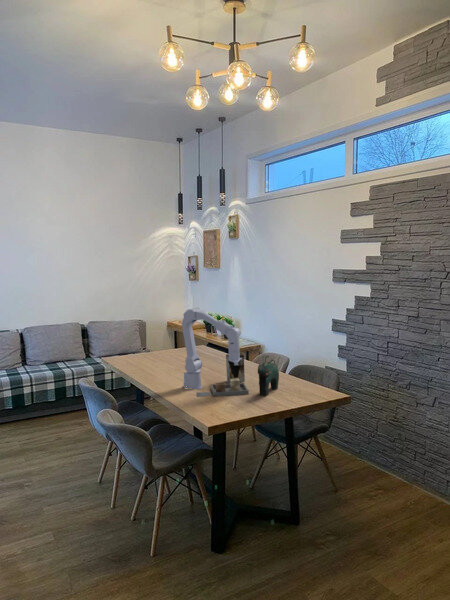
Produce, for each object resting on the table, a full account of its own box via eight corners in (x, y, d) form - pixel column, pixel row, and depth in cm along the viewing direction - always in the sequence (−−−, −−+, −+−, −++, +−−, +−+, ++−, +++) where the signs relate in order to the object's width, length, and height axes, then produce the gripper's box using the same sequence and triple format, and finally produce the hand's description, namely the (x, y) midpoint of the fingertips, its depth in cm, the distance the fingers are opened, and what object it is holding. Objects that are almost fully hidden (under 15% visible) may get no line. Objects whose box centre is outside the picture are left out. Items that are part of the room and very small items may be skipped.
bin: (213, 397, 226) (213, 392, 226) (211, 389, 241) (211, 384, 241) (248, 395, 229) (248, 390, 228) (244, 387, 243) (243, 382, 243)
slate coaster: (197, 397, 226) (197, 396, 226) (196, 393, 233) (196, 392, 233) (210, 396, 227) (210, 395, 227) (209, 392, 234) (209, 391, 234)
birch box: (231, 392, 233) (231, 380, 232) (230, 389, 237) (230, 378, 237) (239, 391, 233) (239, 380, 233) (238, 389, 238) (238, 378, 237)
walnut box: (216, 394, 229) (216, 385, 228) (216, 392, 233) (215, 383, 233) (225, 394, 229) (225, 384, 229) (224, 391, 234) (224, 382, 233)
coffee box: (241, 380, 259) (240, 352, 257) (245, 382, 253) (244, 355, 251) (226, 381, 256) (225, 354, 255) (229, 384, 250) (228, 356, 249)
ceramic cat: (266, 398, 222) (265, 359, 220) (254, 396, 225) (254, 358, 224) (281, 388, 239) (280, 351, 238) (270, 387, 242) (269, 351, 241)
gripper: (243, 352, 227) (244, 378, 228) (239, 347, 241) (240, 372, 242) (230, 353, 226) (230, 379, 227) (226, 348, 240) (227, 372, 241)
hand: (234, 375), depth 235 cm, fingers open, 7 cm apart
